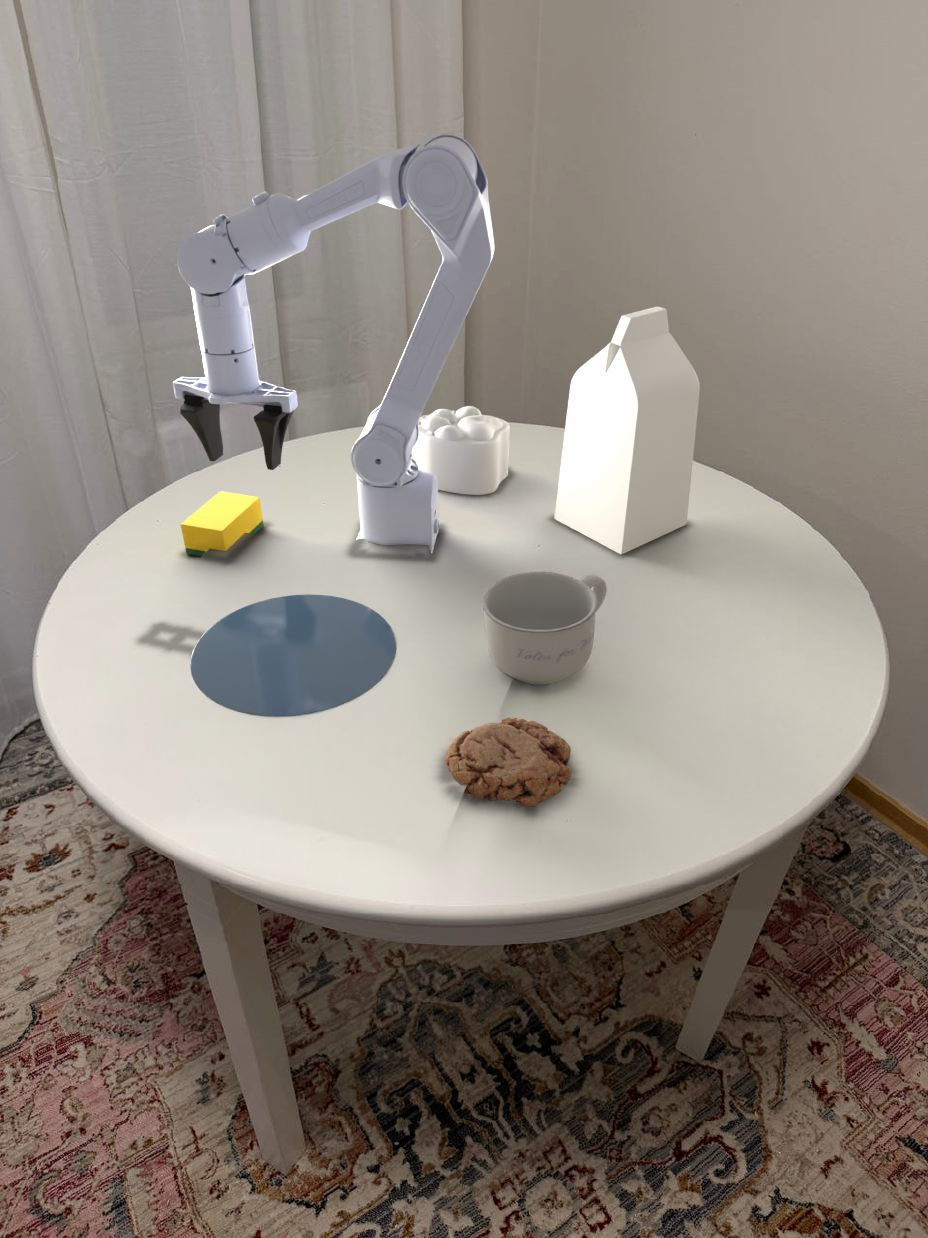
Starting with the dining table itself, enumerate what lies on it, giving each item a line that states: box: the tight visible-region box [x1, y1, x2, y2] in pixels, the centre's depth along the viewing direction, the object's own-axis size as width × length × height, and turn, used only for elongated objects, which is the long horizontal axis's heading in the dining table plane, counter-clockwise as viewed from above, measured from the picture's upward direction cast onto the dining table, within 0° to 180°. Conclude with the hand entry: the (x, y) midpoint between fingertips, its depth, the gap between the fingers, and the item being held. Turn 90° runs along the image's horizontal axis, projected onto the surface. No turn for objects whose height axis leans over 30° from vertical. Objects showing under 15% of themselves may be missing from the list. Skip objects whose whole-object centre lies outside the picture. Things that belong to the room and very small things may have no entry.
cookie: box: [445, 717, 572, 807], centre depth 74 cm, size 10×11×3 cm
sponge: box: [180, 491, 264, 557], centre depth 106 cm, size 6×9×4 cm, turn 163°
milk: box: [553, 305, 701, 555], centre depth 104 cm, size 12×12×26 cm
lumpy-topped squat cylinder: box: [411, 405, 511, 496], centre depth 120 cm, size 10×13×9 cm
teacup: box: [481, 571, 608, 685], centre depth 85 cm, size 14×11×8 cm
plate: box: [189, 593, 397, 718], centre depth 87 cm, size 20×20×1 cm
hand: (245, 462), depth 103 cm, fingers open, 7 cm apart
